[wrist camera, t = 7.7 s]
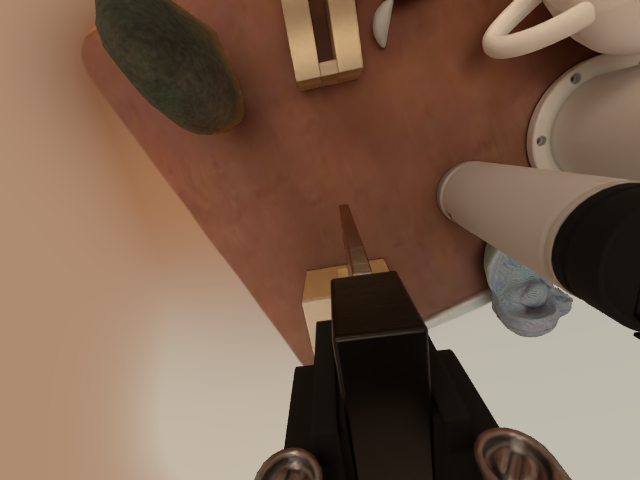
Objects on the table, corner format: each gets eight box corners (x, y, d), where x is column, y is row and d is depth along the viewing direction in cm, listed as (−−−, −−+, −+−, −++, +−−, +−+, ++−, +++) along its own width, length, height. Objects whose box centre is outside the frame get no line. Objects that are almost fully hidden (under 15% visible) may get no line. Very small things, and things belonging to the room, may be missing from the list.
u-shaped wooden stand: (383, 258, 33) (397, 287, 26) (392, 327, 36) (408, 370, 29) (306, 270, 34) (301, 302, 27) (321, 338, 37) (320, 382, 30)
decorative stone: (280, 113, 29) (235, 85, 15) (231, 151, 30) (145, 158, 16) (214, 15, 27) (85, -131, 12) (164, 60, 28) (-8, -27, 13)
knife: (327, 206, 15) (331, 339, 5) (359, 201, 15) (429, 327, 5) (345, 324, 17) (373, 590, 7) (372, 321, 17) (442, 585, 7)
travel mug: (434, 227, 32) (593, 351, 13) (436, 163, 30) (626, 199, 11) (494, 222, 32) (746, 342, 13) (500, 157, 30) (809, 184, 11)
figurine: (489, 332, 33) (533, 344, 27) (448, 230, 35) (480, 217, 28) (553, 309, 34) (611, 315, 27) (510, 209, 35) (556, 192, 29)
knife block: (276, -38, 25) (266, -75, 21) (340, -54, 25) (342, -95, 21) (300, 91, 28) (296, 82, 24) (358, 79, 28) (363, 67, 24)
